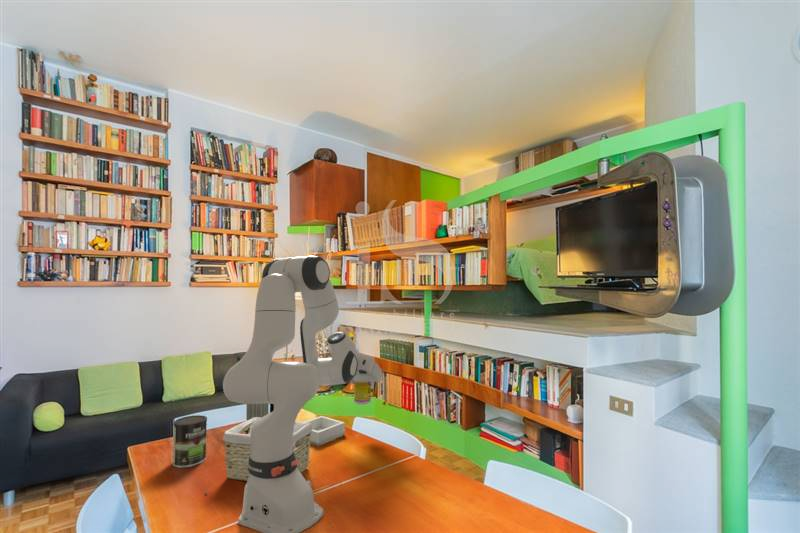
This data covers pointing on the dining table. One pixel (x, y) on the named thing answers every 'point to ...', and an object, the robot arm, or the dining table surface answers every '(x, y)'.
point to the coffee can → (189, 441)
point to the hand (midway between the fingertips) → (363, 383)
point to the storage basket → (241, 445)
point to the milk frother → (258, 411)
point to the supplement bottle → (362, 392)
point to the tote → (325, 430)
